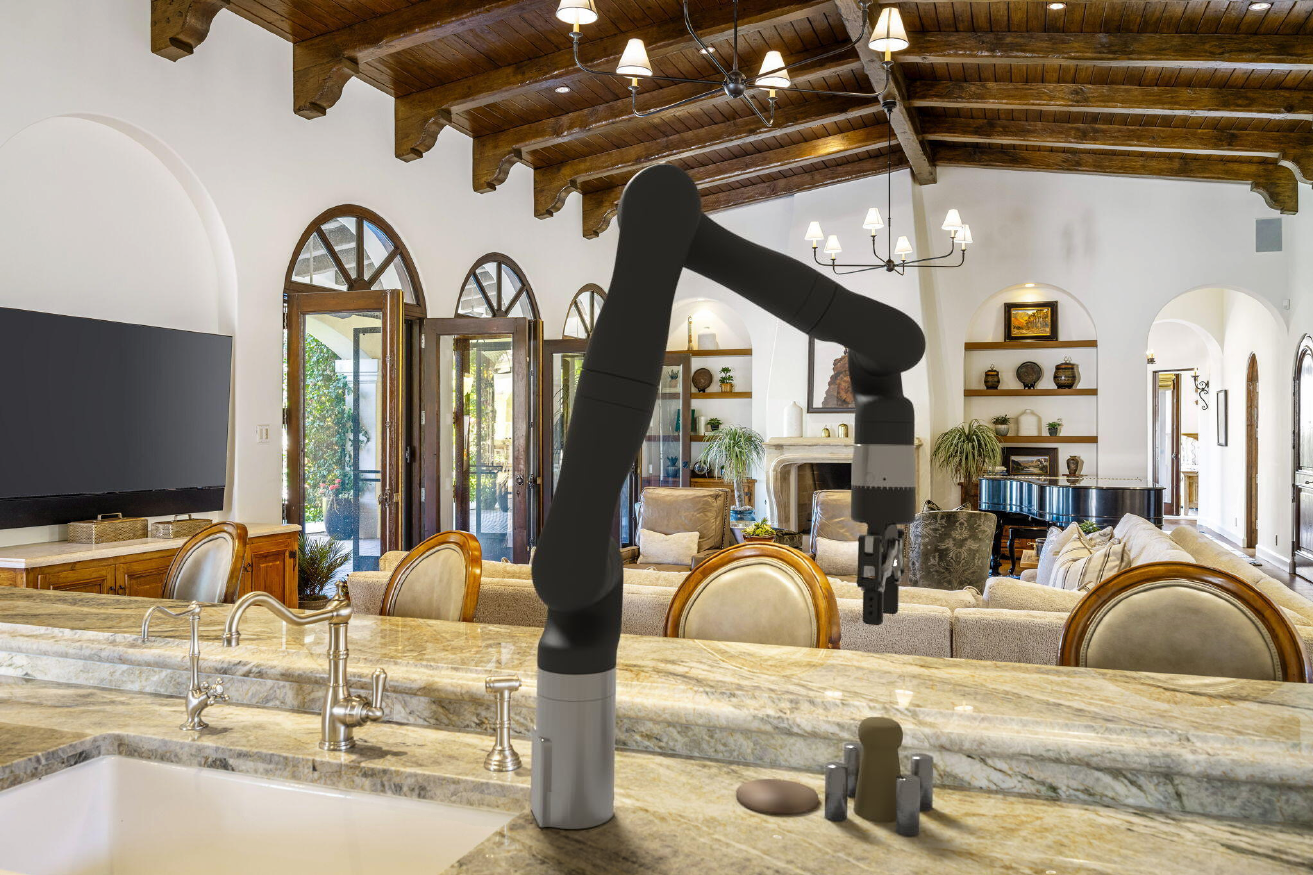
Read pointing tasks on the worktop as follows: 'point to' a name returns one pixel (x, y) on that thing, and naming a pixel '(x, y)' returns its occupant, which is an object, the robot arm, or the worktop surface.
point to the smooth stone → (777, 797)
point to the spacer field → (910, 789)
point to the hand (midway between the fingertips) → (881, 618)
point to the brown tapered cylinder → (878, 769)
